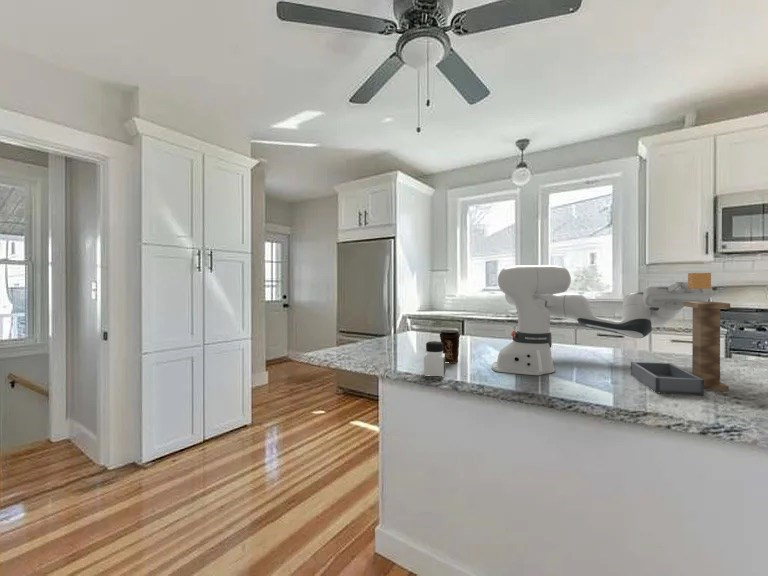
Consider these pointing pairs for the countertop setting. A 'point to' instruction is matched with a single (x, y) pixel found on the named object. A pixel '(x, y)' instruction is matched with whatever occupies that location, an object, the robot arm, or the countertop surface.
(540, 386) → the countertop surface
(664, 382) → the tray
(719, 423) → the countertop surface
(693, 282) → the lock pin
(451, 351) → the coffee cup
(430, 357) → the medicine bottle
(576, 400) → the countertop surface
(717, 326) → the pedestal
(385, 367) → the countertop surface
